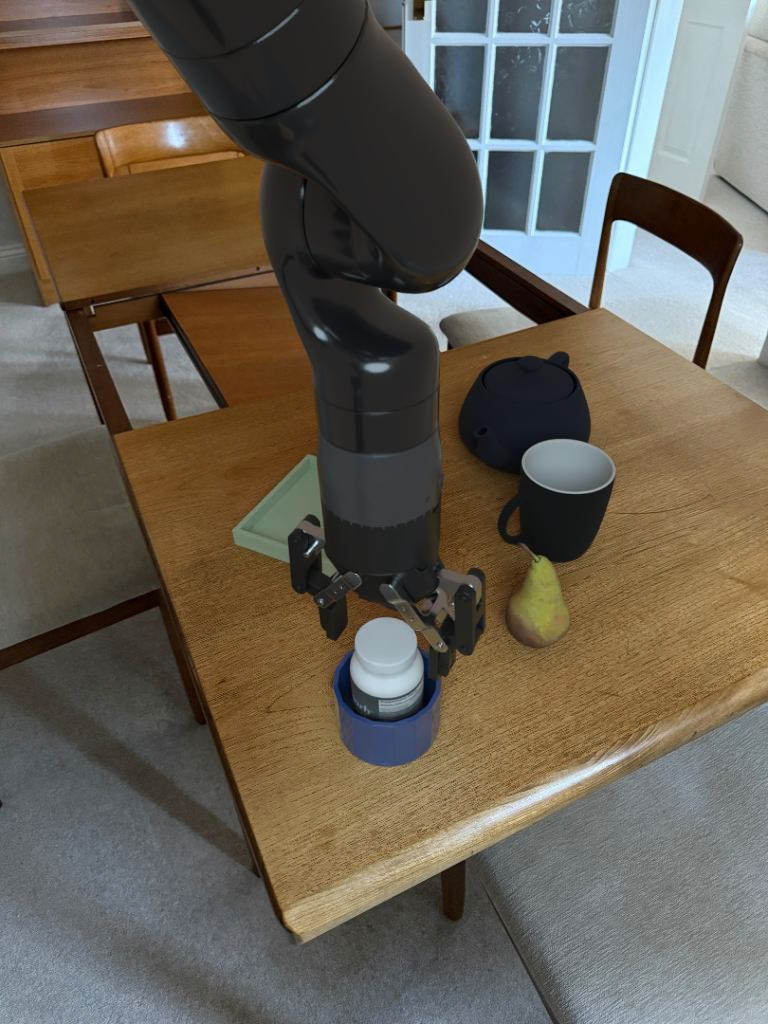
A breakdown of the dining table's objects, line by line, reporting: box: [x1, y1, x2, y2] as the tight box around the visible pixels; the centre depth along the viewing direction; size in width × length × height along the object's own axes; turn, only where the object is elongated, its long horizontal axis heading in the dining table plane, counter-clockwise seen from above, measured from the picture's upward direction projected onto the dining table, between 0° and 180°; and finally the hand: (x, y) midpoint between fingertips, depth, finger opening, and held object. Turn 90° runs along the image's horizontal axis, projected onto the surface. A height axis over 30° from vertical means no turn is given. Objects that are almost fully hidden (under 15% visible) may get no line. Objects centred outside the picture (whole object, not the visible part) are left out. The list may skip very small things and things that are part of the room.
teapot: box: [457, 350, 592, 476], centre depth 86 cm, size 25×16×12 cm, turn 148°
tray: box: [231, 453, 337, 577], centre depth 80 cm, size 15×15×2 cm
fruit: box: [505, 542, 572, 649], centre depth 64 cm, size 6×6×12 cm
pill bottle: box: [350, 616, 424, 722], centre depth 58 cm, size 6×6×10 cm
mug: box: [496, 439, 617, 563], centre depth 74 cm, size 12×9×10 cm
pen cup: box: [332, 644, 442, 768], centre depth 60 cm, size 8×8×6 cm
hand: (387, 651), depth 56 cm, fingers open, 8 cm apart
